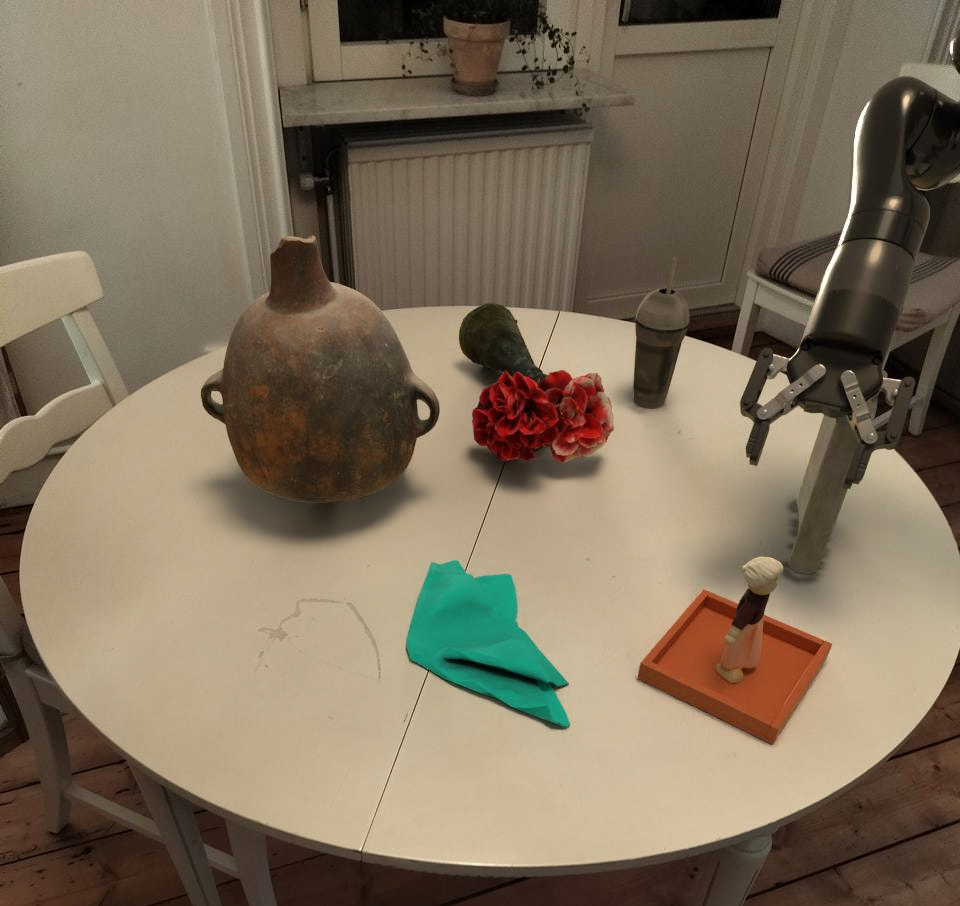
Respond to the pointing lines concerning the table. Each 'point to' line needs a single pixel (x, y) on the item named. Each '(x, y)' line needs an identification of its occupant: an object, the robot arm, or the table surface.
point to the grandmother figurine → (749, 619)
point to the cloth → (482, 641)
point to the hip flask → (824, 489)
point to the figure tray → (764, 689)
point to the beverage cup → (658, 343)
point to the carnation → (530, 395)
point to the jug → (317, 387)
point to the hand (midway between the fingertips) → (799, 474)
